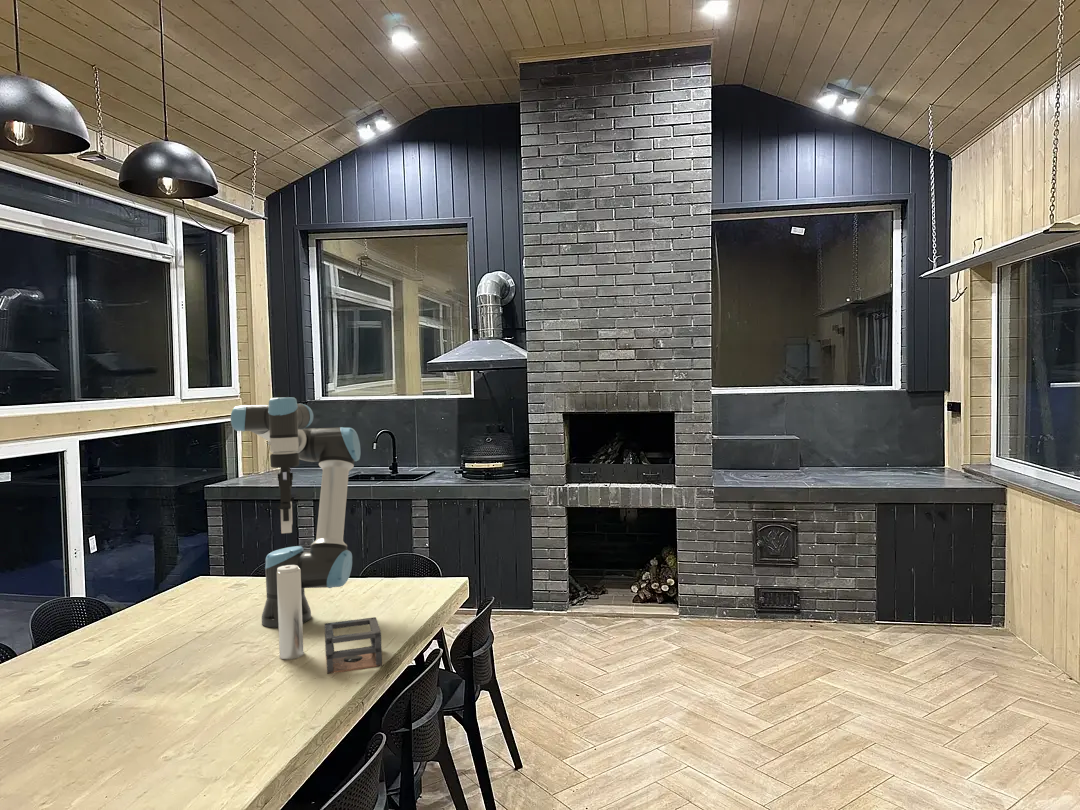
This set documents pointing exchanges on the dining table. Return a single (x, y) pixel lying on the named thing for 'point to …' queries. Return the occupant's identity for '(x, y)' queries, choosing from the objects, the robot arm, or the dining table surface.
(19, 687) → the dining table surface
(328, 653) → the collar stand
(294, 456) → the robot arm
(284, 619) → the white tall cylinder
